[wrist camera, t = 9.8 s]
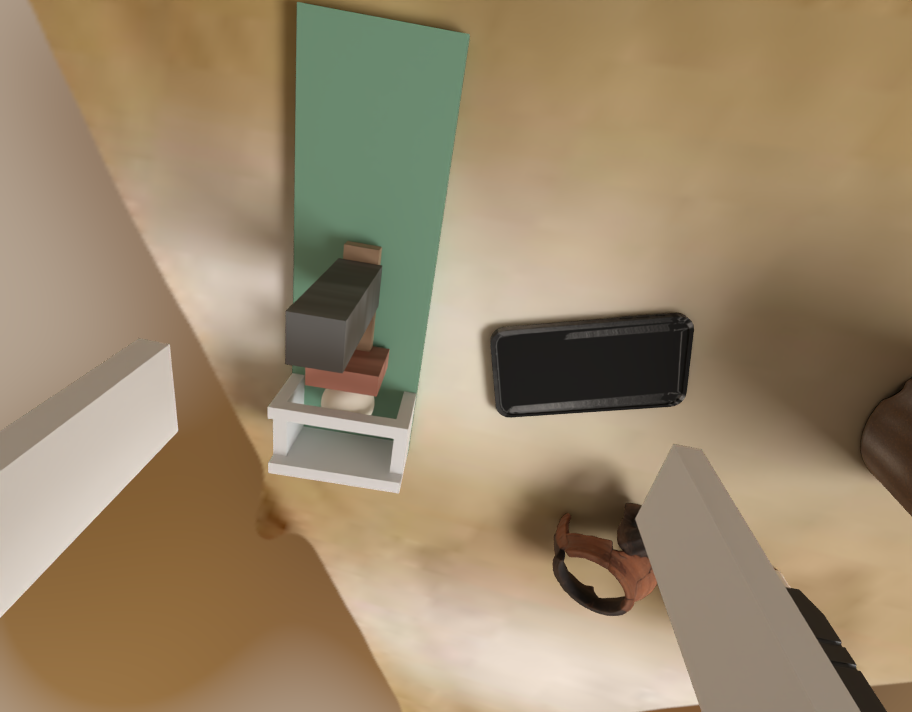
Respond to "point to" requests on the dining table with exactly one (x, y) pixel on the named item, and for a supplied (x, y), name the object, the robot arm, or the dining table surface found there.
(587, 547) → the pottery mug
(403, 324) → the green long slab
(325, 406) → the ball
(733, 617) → the robot arm
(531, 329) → the phone
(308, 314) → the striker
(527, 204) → the dining table surface
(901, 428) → the plant pot
